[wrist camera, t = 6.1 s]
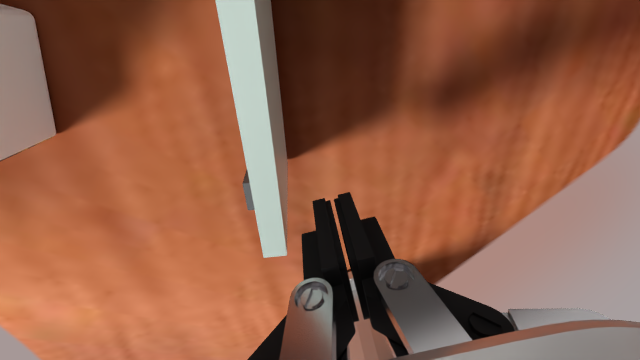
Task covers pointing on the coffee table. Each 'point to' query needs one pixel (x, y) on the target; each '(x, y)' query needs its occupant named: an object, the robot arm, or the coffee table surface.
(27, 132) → the white square bottle
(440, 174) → the coffee table surface
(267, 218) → the side door
